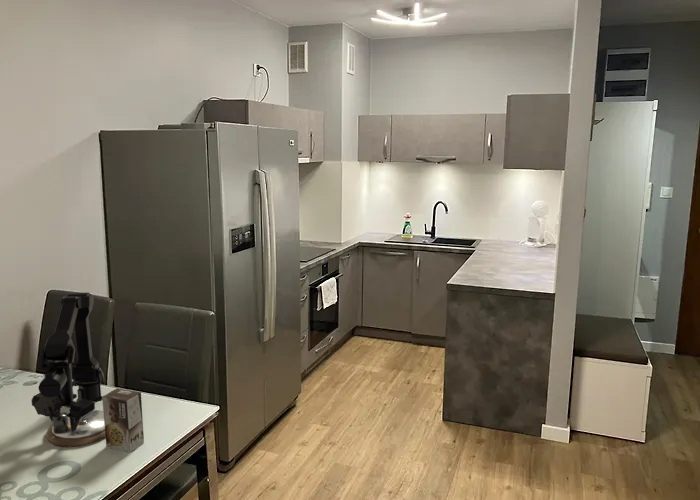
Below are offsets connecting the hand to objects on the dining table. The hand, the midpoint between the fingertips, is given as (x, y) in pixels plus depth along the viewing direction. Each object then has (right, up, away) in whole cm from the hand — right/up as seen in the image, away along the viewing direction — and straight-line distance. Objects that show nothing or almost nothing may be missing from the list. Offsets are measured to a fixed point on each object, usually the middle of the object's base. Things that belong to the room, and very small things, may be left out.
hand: (65, 428), depth 169 cm
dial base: (+3, -2, +5) cm, 7 cm away
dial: (+3, -1, +5) cm, 6 cm away
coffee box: (+19, -4, -3) cm, 20 cm away
